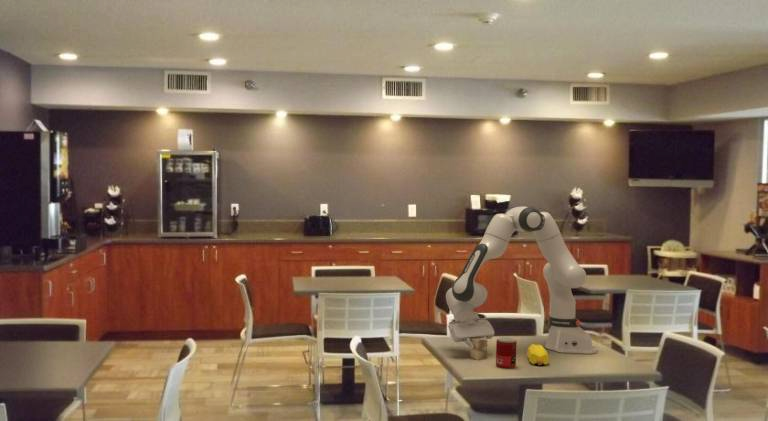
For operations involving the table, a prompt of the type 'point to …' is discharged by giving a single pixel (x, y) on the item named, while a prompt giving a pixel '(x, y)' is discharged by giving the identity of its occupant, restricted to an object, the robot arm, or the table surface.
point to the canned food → (506, 352)
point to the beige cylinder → (479, 348)
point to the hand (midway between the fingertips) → (479, 347)
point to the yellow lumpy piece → (537, 354)
